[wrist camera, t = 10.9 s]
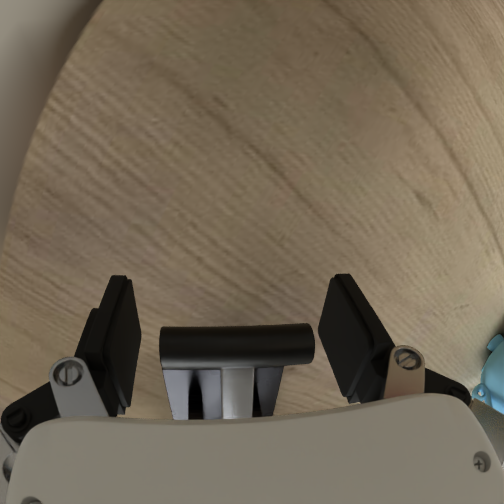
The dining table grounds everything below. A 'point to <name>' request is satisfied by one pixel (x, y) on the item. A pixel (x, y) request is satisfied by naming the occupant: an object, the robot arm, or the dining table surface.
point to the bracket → (216, 392)
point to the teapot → (493, 376)
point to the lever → (236, 356)
